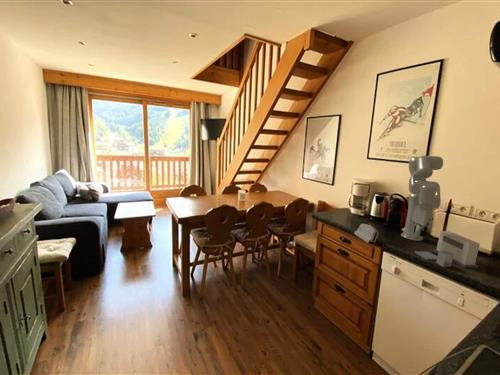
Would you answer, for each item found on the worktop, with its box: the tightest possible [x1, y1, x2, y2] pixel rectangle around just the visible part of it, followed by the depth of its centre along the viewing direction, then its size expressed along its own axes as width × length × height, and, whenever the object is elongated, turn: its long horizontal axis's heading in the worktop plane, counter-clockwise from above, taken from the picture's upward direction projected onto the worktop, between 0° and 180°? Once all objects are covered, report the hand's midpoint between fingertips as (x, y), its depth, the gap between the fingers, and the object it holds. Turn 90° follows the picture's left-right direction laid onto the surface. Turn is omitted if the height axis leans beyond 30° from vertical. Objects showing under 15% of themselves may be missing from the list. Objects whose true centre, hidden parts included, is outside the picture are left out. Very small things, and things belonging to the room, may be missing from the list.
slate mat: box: [414, 250, 438, 261], centre depth 141 cm, size 9×9×1 cm
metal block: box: [435, 251, 453, 268], centre depth 131 cm, size 4×4×7 cm
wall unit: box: [432, 230, 481, 269], centre depth 138 cm, size 20×8×13 cm, turn 5°
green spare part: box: [415, 224, 425, 238], centre depth 149 cm, size 4×4×7 cm
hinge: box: [353, 223, 379, 244], centre depth 164 cm, size 17×5×10 cm, turn 8°
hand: (419, 234), depth 149 cm, fingers closed on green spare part, 4 cm apart
